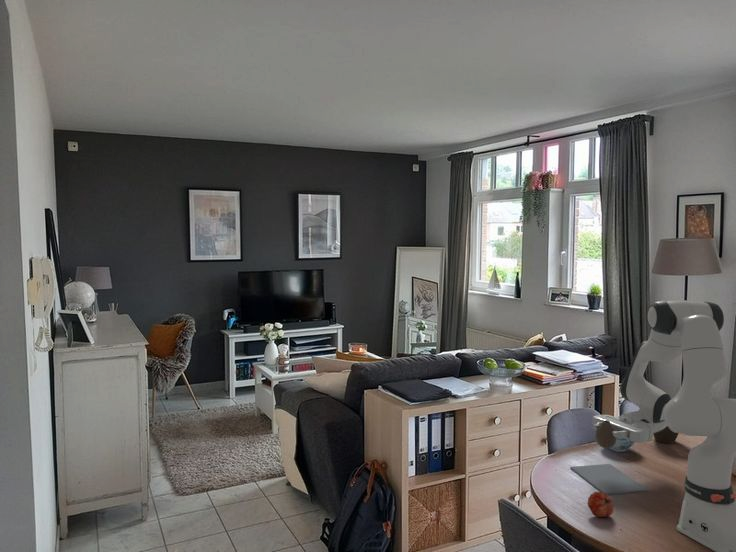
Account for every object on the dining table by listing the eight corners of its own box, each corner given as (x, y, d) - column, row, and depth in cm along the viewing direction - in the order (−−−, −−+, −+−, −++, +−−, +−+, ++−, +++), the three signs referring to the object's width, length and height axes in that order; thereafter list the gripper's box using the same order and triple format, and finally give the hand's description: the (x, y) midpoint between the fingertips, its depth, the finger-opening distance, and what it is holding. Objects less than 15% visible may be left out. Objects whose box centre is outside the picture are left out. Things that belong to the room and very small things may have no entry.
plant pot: (654, 446, 238) (655, 408, 237) (638, 434, 253) (640, 397, 251) (691, 447, 237) (693, 408, 236) (673, 434, 252) (675, 398, 251)
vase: (613, 451, 200) (614, 426, 199) (592, 446, 204) (593, 422, 203) (618, 445, 205) (619, 420, 204) (598, 441, 209) (599, 417, 209)
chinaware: (632, 443, 242) (632, 425, 241) (642, 457, 227) (643, 437, 226) (594, 440, 244) (594, 422, 244) (601, 454, 230) (602, 435, 229)
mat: (647, 491, 197) (648, 489, 197) (604, 494, 194) (604, 493, 194) (609, 465, 219) (609, 463, 219) (570, 468, 216) (570, 466, 216)
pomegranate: (583, 519, 182) (598, 513, 174) (579, 495, 186) (593, 487, 178) (605, 521, 183) (621, 514, 174) (601, 497, 187) (616, 489, 178)
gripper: (608, 408, 219) (581, 413, 213) (656, 424, 201) (629, 431, 195) (607, 425, 219) (580, 430, 213) (656, 442, 201) (628, 449, 195)
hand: (604, 431), depth 204 cm, fingers closed on vase, 7 cm apart
